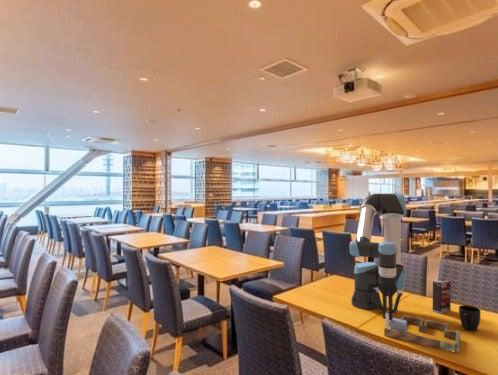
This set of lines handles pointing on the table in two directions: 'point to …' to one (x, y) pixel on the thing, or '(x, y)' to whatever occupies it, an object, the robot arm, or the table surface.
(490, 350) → the table surface
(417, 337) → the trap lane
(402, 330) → the block
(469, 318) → the mug
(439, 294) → the supplement box
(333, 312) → the table surface
